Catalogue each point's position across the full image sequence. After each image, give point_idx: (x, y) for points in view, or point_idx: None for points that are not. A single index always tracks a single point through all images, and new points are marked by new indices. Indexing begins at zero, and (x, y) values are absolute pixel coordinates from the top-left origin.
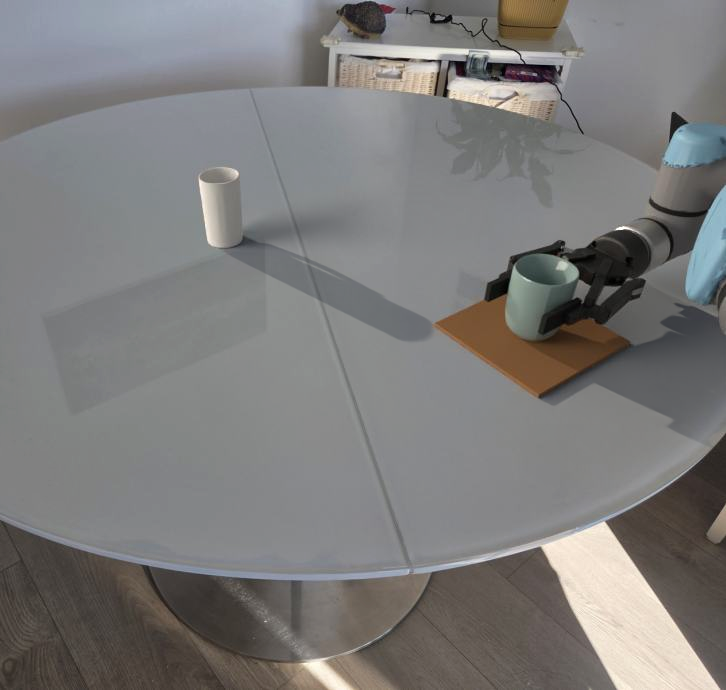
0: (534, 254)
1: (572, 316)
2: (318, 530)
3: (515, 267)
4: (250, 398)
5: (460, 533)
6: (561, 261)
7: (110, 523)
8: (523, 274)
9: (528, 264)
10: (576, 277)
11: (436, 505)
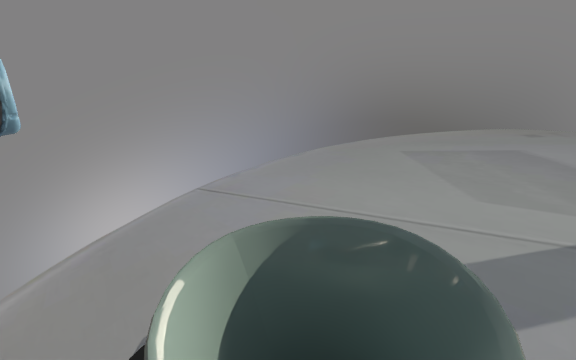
0: (516, 346)
1: (138, 350)
2: (250, 177)
3: (393, 226)
4: (375, 181)
5: (178, 204)
6: None
7: (317, 152)
8: (416, 326)
9: (456, 332)
10: (154, 331)
11: (204, 205)
